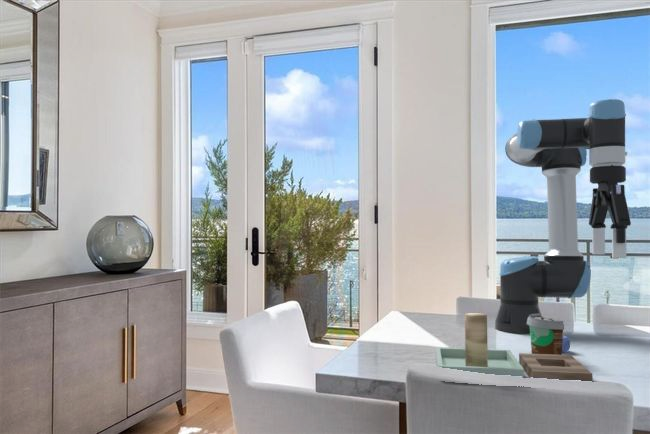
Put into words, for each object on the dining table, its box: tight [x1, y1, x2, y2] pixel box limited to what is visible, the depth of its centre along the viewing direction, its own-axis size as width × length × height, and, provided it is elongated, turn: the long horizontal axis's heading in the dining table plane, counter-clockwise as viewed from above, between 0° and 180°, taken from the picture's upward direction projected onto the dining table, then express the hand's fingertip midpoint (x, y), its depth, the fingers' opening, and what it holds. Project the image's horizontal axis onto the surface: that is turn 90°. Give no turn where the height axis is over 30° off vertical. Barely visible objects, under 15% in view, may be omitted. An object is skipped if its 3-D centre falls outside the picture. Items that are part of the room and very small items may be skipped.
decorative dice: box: [562, 335, 571, 354], centre depth 143 cm, size 4×4×4 cm
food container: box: [527, 313, 565, 355], centre depth 138 cm, size 12×6×10 cm, turn 5°
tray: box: [435, 346, 525, 378], centre depth 124 cm, size 18×18×3 cm
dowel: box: [464, 312, 488, 367], centre depth 124 cm, size 5×5×12 cm
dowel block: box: [518, 352, 594, 382], centre depth 121 cm, size 16×12×2 cm
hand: (608, 256), depth 125 cm, fingers open, 13 cm apart
